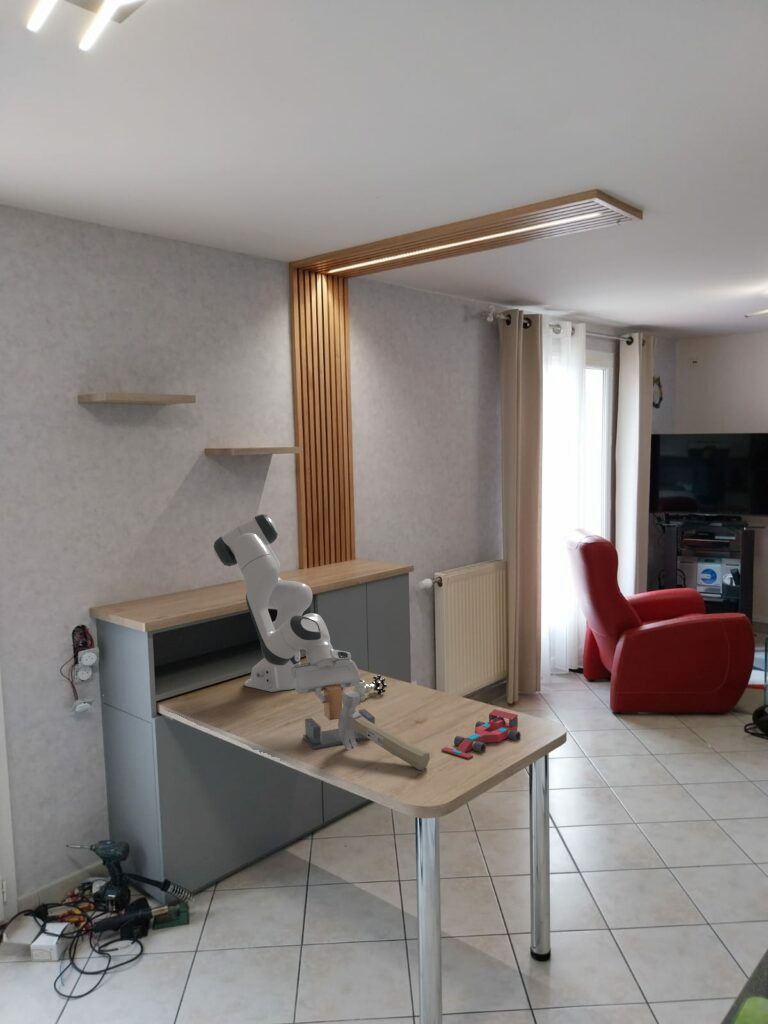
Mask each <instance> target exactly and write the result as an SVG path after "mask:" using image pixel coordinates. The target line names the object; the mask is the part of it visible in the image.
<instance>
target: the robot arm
mask: <svg viewBox="0 0 768 1024" xmlns="http://www.w3.org/2000/svg"><path fill="white" fill-rule="evenodd" d="M277 538H278V528H277V526H276V523H275V521H274V520H273V519H271V518H270V517H269V516H268V515H267V514H263V513H262V514H258V515H255V516H254V517H253V518H250V519H248V520H246V521H243V522H241V523H240V524H238V525H237V526H236V527H234V528H233V529H230V530H229V531H228V532H226V533H225V534H224V535H223V536H219V537H218V538H217V539H216V540H215V541H214V542H213V543H214V544H213V550H214V556H215V557H216V559H217V561H219V562H220V563H221V564H223V565H224V566H225V567H232V566H235V565H238V566H237V567H238V568H239V570H240V571H241V574H242V576H243V578H244V581H245V587H246V594H245V601H246V605H247V608H248V611H249V614H250V616H251V617H250V618H251V619H252V622H253V625H254V628H255V631H256V634H257V637H258V640H259V643H260V649H261V653H262V656H263V658H262V659H261V660H260V661H259V662H257V663H256V664H255V665H254V666H253V667H252V669H251V673H250V678H248V679H247V680H246V681H244V686H245V687H248V688H253V689H257V690H262V691H266V692H270V693H274V692H280V691H287V690H288V691H289V690H295V692H296V693H297V694H299V695H303V694H309V693H314V694H315V696H317V698H319V700H320V703H321V704H323V705H324V703H327V696H326V695H325V696H324V693H322V692H324V686H331V685H338V686H339V687H340V688H341V689H342V697H343V695H344V693H345V690H346V688H352V687H355V686H357V685H358V684H359V682H360V680H362V678H361V674H360V670H359V668H358V665H357V664H356V663H355V661H354V660H352V655H351V653H350V652H348V651H343V650H338V649H334V647H333V645H332V644H331V637H330V633H329V630H328V627H327V624H326V622H325V620H324V619H323V618H322V616H321V615H320V614H318V613H311V612H310V613H306V614H304V612H305V611H307V610H308V608H310V607H311V605H312V601H313V591H312V589H311V587H310V586H309V585H308V584H306V583H303V582H301V581H297V580H285V579H282V578H281V577H280V573H281V572H280V570H281V566H282V565H281V562H280V561H279V559H278V557H277V556H276V555H277V554H275V553H274V551H273V549H272V547H271V546H270V545H272V544H273V543H274V542H275V541H276V540H277ZM269 610H276V611H277V613H276V614H277V615H276V618H275V620H274V621H272V618H271V614H270V613H269ZM303 614H304V615H303ZM301 650H303V651H305V658H306V661H307V662H306V663H301V657H302V653H301Z"/></svg>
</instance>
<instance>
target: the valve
mask: <svg viewBox="0 0 768 1024" xmlns="http://www.w3.org/2000/svg"><path fill="white" fill-rule="evenodd" d="M385 681H386V679H385V677H383V678H382V675H381V674H378V675H377V676H376V675H375V676H373V681H371V684H368V683H366V682H365V680H364V679H360V682H359V684H358V685H357V686H353V691H354V692H356V693H358V694H359V695H360V702H361V703H362V702H364V701H366V694H368V693H370V692H371V690H373V691H377V694H378V695H380V694H383V693H386V689H385V688H387V686H388V685H387V683H385ZM380 687H381V688H380ZM360 702H359V703H360Z"/></svg>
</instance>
